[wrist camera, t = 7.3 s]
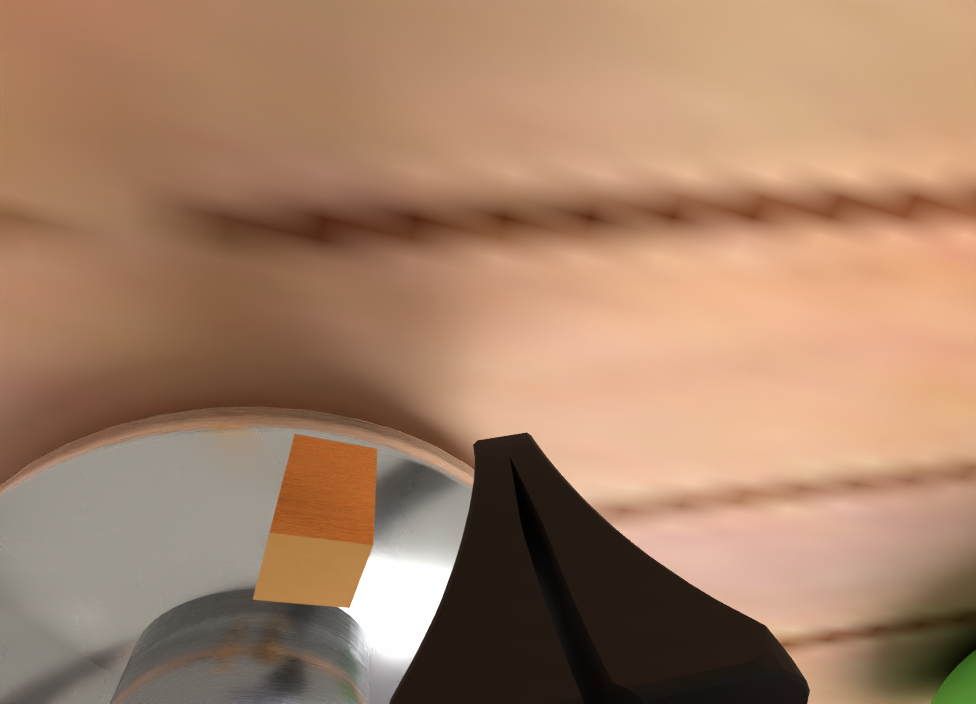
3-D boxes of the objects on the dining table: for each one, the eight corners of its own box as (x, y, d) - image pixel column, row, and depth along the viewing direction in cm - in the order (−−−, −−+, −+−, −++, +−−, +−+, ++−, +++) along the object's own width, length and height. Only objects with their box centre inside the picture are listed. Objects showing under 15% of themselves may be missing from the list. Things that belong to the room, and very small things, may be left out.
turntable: (404, 779, 24) (405, 903, 21) (-87, 737, 18) (-206, 909, 14) (643, 515, 18) (705, 631, 14) (5, 291, 11) (-175, 404, 8)
